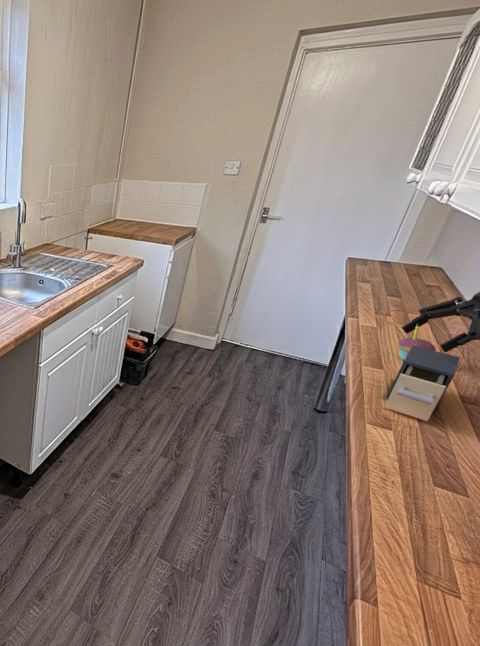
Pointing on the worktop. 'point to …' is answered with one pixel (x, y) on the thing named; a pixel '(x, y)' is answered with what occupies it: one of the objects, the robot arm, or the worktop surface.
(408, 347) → the cupcake
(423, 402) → the drawer
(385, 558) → the worktop surface
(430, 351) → the cabinet
